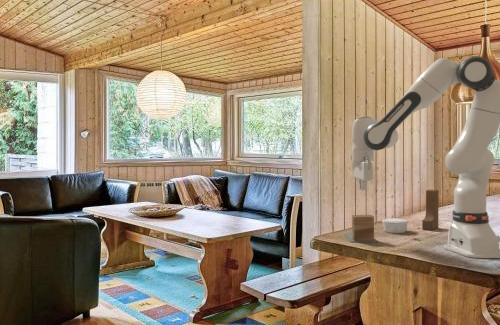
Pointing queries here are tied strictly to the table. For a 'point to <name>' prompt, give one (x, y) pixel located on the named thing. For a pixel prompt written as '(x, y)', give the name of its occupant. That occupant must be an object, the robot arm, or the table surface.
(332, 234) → the table surface
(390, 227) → the ramekin
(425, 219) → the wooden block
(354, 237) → the walnut block
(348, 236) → the rubber mat
